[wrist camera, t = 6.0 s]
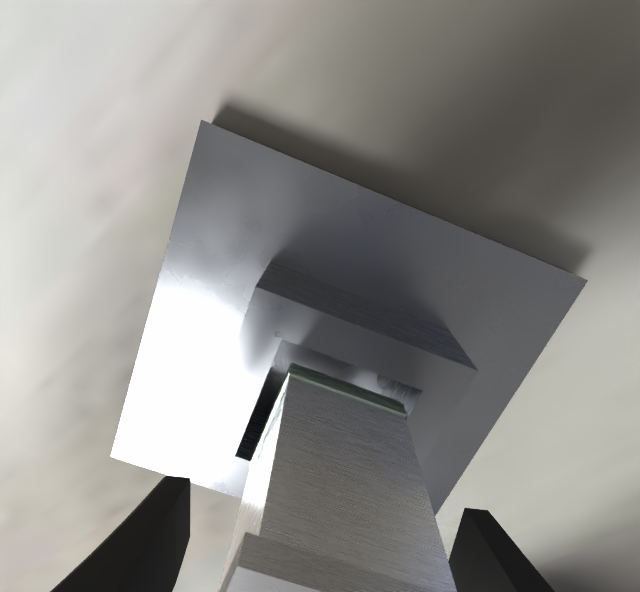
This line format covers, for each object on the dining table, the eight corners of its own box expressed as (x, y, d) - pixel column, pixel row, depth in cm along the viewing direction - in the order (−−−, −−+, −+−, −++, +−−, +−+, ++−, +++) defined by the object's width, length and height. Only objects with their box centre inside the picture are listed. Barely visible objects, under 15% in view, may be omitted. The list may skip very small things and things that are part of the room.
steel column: (412, 397, 13) (500, 645, 6) (358, 493, 15) (384, 781, 8) (286, 351, 13) (236, 566, 6) (244, 455, 14) (164, 726, 7)
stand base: (570, 272, 17) (653, 310, 12) (406, 532, 22) (425, 623, 17) (210, 122, 15) (164, 107, 11) (123, 439, 20) (66, 514, 16)
